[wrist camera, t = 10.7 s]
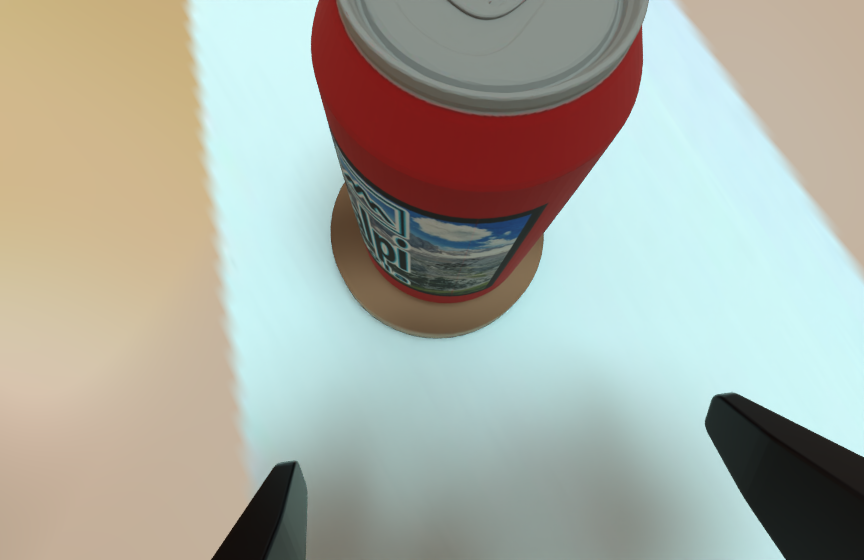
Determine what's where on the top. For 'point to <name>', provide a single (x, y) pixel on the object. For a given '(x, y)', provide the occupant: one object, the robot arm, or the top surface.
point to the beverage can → (470, 124)
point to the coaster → (407, 309)
